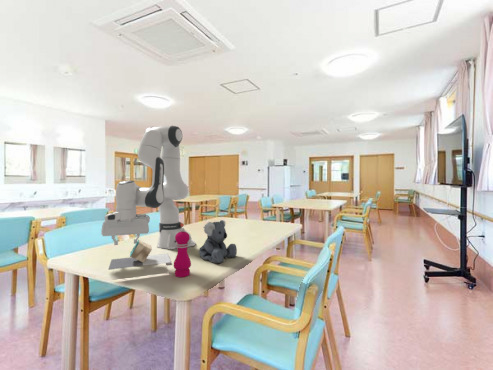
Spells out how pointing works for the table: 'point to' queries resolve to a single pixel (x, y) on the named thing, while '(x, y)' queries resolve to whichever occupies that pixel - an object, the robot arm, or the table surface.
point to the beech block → (140, 251)
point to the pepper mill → (182, 254)
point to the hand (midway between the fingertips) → (126, 244)
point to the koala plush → (216, 243)
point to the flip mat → (133, 262)
